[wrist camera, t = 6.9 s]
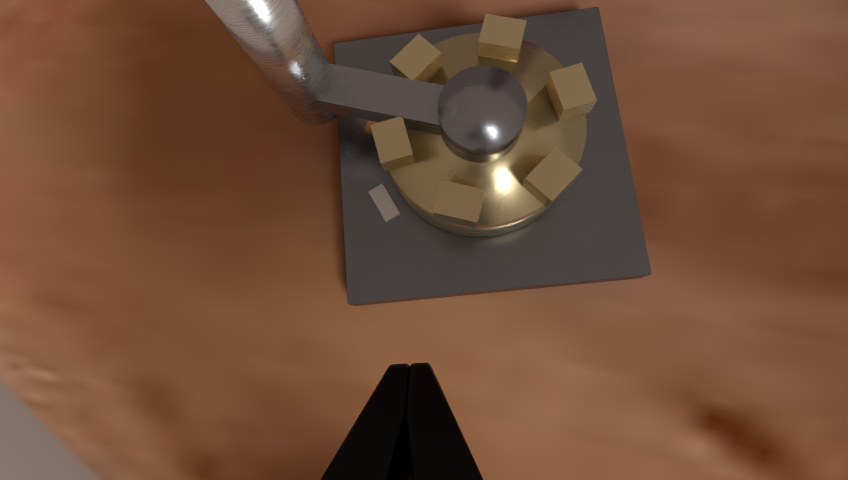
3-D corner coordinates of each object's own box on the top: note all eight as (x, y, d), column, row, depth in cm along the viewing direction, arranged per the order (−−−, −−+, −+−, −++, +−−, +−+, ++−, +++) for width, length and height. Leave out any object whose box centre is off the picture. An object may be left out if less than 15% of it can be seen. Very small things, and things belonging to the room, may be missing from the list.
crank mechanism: (589, 80, 22) (679, -101, 13) (551, 258, 21) (623, 197, 11) (329, 33, 24) (244, -155, 15) (276, 193, 22) (142, 95, 13)
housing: (638, 278, 22) (653, 273, 20) (355, 305, 23) (346, 303, 21) (590, 26, 25) (599, 4, 23) (341, 59, 26) (332, 40, 24)
